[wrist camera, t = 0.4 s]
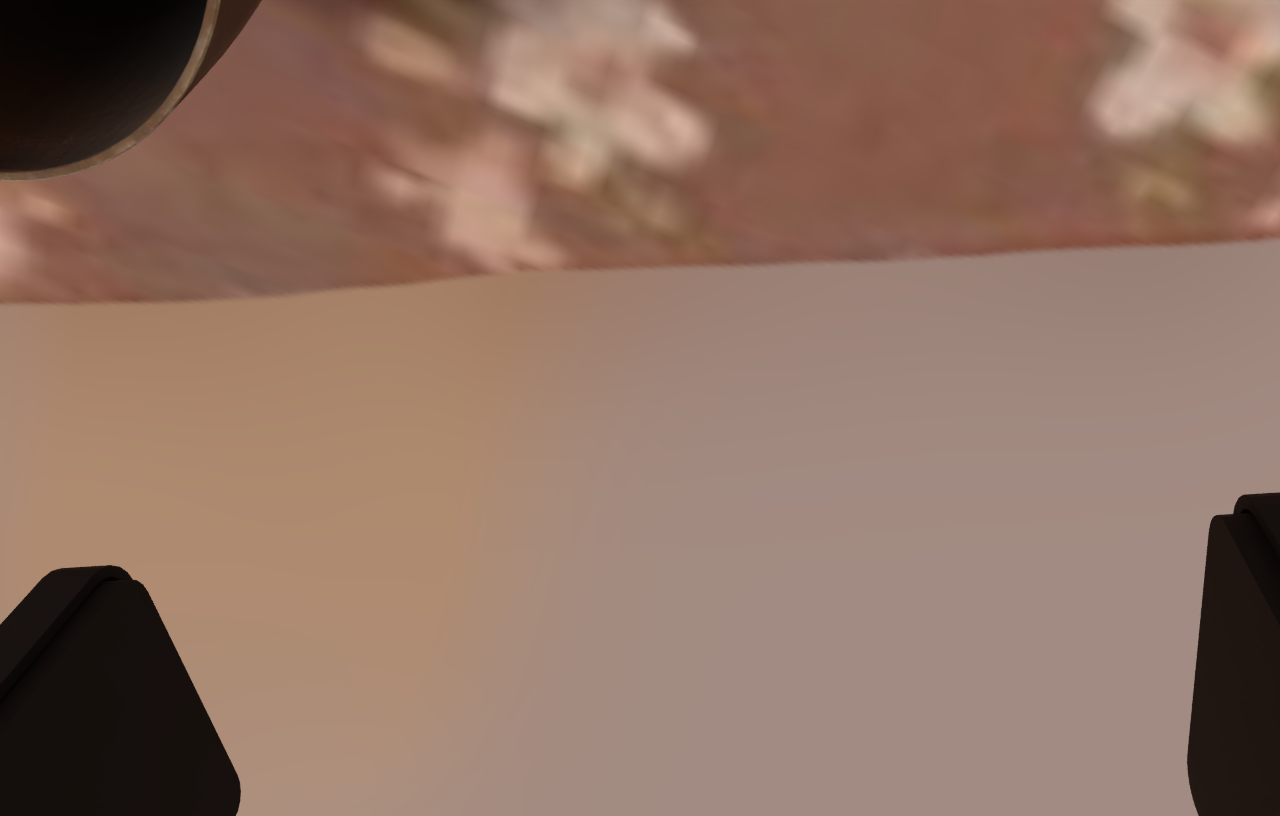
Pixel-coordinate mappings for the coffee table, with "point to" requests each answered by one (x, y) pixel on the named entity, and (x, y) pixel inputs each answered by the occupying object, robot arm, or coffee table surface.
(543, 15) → the coffee table surface
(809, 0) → the coffee table surface
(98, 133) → the plant pot
